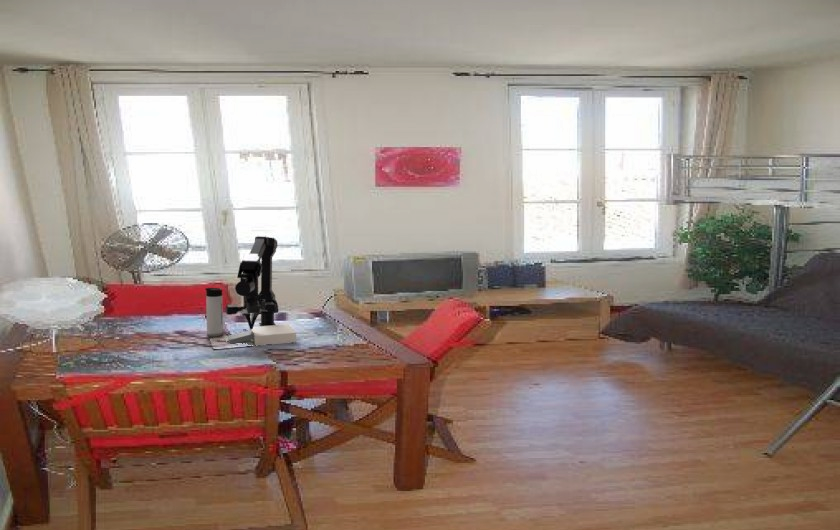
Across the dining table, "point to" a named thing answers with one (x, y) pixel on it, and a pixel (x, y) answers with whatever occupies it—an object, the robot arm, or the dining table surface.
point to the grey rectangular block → (240, 337)
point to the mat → (227, 340)
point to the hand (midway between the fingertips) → (251, 329)
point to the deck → (273, 334)
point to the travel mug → (214, 311)
